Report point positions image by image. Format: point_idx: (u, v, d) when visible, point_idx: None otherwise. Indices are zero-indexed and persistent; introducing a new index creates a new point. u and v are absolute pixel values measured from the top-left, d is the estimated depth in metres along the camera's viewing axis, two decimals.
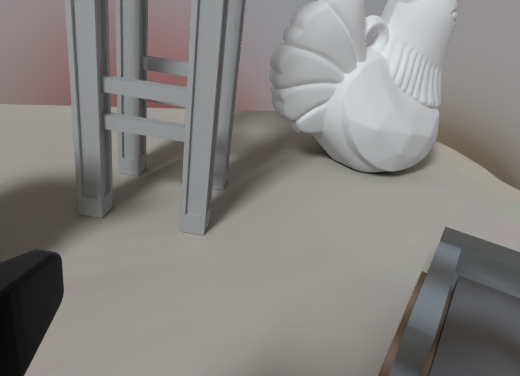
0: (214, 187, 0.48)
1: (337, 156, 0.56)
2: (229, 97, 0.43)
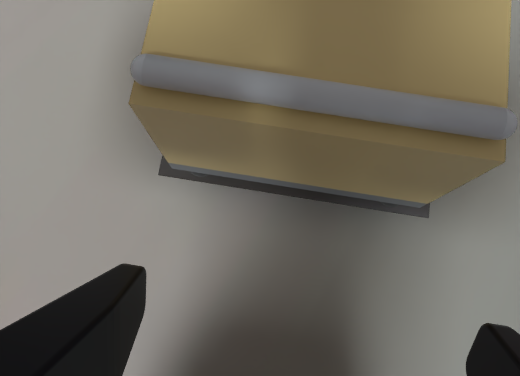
0: None
1: None
2: None
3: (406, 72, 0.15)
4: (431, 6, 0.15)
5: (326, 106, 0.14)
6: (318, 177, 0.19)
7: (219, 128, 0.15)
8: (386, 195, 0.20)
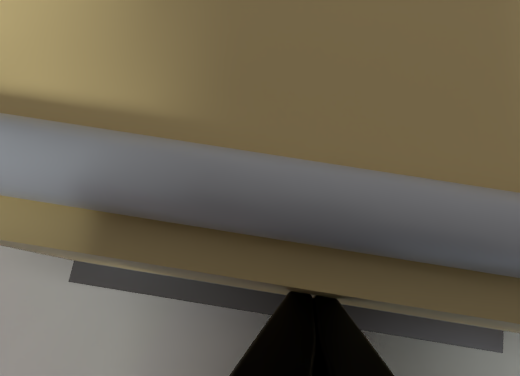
0: None
1: None
2: None
3: None
4: None
5: (365, 241, 0.05)
6: None
7: (111, 259, 0.07)
8: None
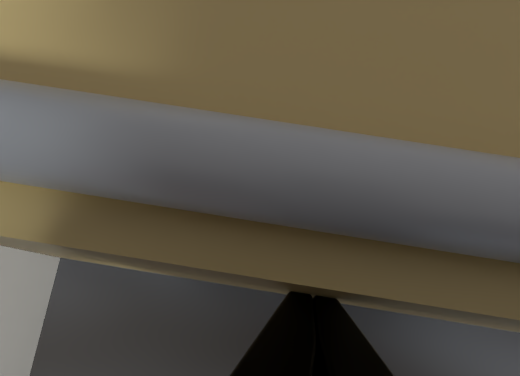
0: None
1: None
2: None
3: None
4: None
5: (392, 227, 0.04)
6: None
7: (86, 253, 0.06)
8: (466, 323, 0.11)
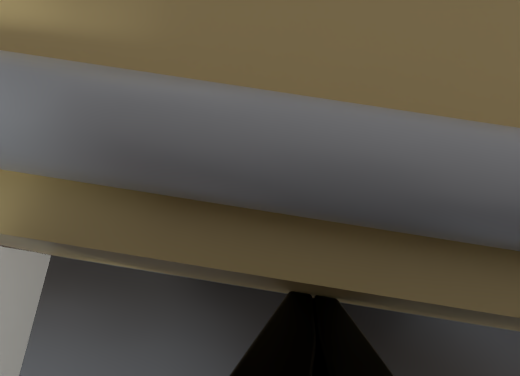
0: None
1: None
2: None
3: None
4: None
5: (417, 215, 0.03)
6: (344, 301, 0.09)
7: (65, 247, 0.05)
8: (479, 324, 0.10)
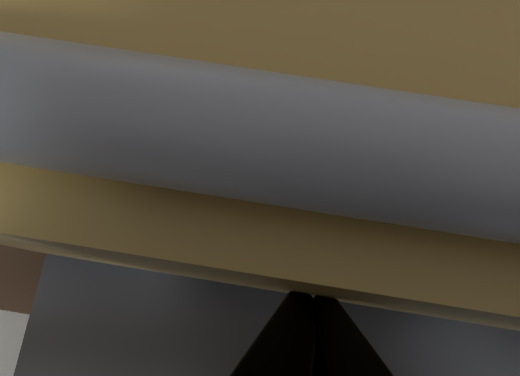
0: None
1: None
2: None
3: None
4: None
5: (434, 208, 0.03)
6: (347, 301, 0.09)
7: (50, 245, 0.05)
8: None
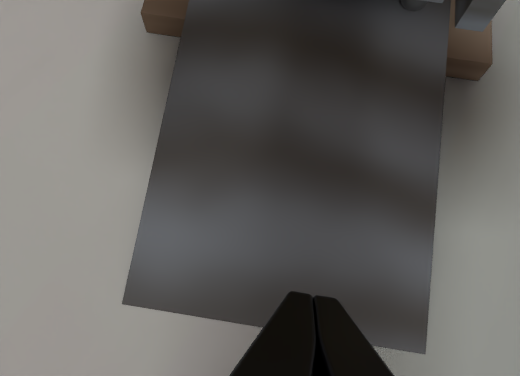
0: None
1: None
2: None
3: None
4: None
5: None
6: None
7: None
8: None
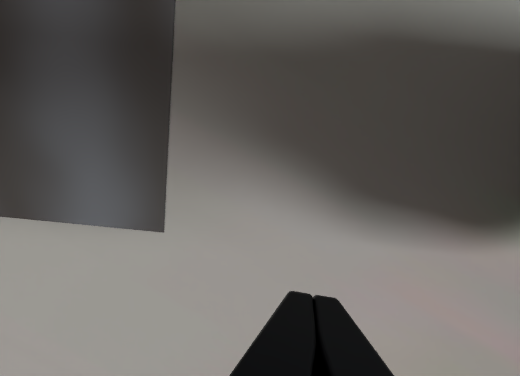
0: None
1: None
2: None
3: None
4: None
5: None
6: None
7: None
8: None
